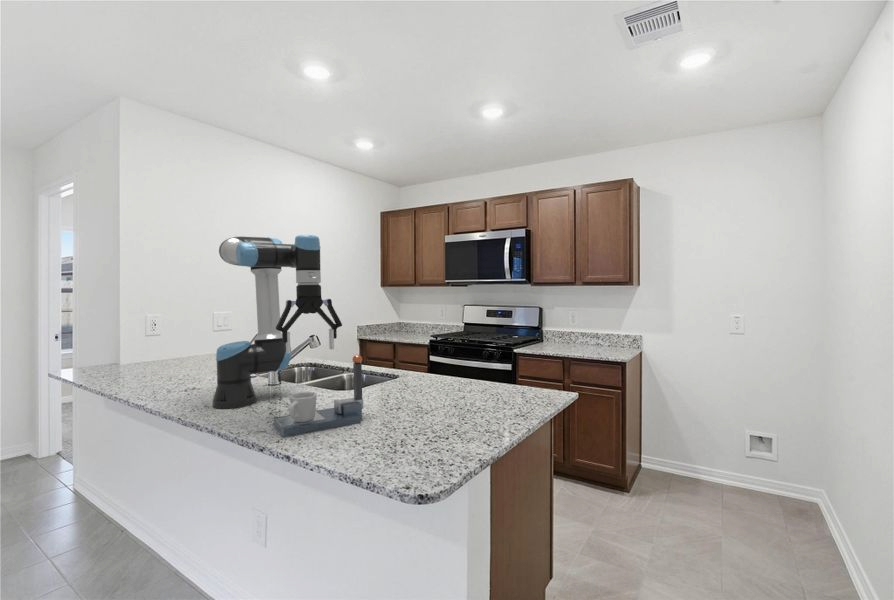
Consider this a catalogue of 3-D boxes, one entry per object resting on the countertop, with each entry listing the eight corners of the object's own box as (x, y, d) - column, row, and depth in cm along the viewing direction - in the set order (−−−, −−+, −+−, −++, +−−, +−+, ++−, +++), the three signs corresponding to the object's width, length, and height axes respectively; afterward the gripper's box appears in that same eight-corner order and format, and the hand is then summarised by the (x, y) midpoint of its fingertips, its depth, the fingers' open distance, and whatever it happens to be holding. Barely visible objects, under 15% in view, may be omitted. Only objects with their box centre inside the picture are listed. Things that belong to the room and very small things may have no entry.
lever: (334, 410, 148) (332, 356, 147) (360, 406, 153) (359, 353, 152) (339, 414, 144) (337, 358, 143) (365, 409, 149) (364, 355, 148)
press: (274, 425, 142) (273, 408, 142) (349, 412, 156) (349, 396, 155) (283, 437, 130) (283, 419, 130) (365, 422, 144) (364, 405, 144)
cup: (302, 428, 130) (301, 401, 130) (279, 426, 132) (278, 399, 132) (322, 417, 140) (321, 392, 140) (300, 415, 142) (299, 391, 142)
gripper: (268, 284, 130) (271, 356, 131) (350, 283, 143) (352, 348, 144) (264, 285, 137) (266, 353, 137) (343, 284, 150) (345, 346, 150)
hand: (310, 350), depth 141 cm, fingers open, 13 cm apart
